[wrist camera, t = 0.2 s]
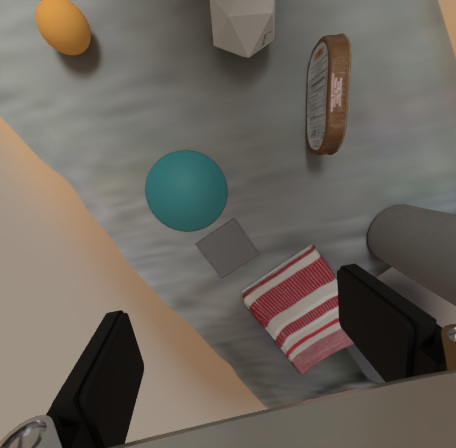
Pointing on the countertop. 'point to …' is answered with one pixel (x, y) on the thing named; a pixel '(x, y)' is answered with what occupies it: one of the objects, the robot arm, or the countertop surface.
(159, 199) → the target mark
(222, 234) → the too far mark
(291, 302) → the dish towel
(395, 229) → the canister
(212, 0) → the die
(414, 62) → the countertop surface
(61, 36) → the ball
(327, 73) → the tin
